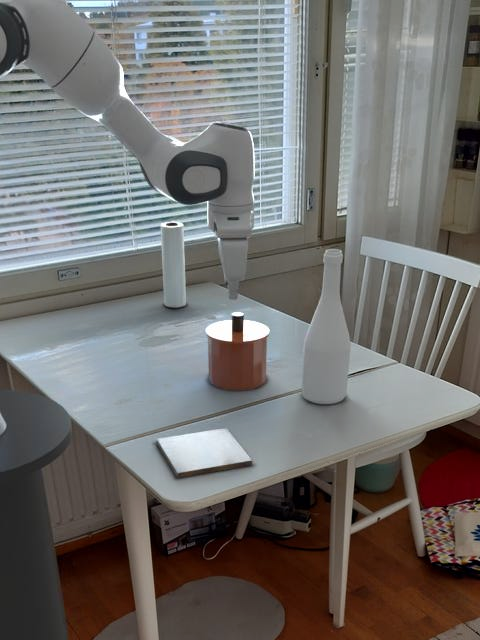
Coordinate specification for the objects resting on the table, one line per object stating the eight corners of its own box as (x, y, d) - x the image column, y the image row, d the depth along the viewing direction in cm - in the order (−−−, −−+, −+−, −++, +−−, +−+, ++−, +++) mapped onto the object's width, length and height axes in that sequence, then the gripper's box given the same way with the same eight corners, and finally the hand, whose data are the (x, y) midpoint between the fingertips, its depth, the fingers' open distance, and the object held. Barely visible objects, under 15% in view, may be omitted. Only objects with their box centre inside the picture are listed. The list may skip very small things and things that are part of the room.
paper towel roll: (177, 309, 213) (174, 227, 201) (159, 305, 216) (155, 224, 204) (192, 302, 218) (190, 222, 206) (175, 299, 221) (172, 219, 209)
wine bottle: (304, 385, 171) (312, 243, 154) (348, 389, 169) (360, 246, 152) (297, 403, 163) (305, 255, 146) (343, 407, 161) (356, 258, 145)
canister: (219, 393, 167) (219, 346, 161) (201, 372, 177) (200, 326, 171) (274, 385, 171) (275, 339, 165) (253, 365, 180) (254, 320, 174)
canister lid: (217, 350, 161) (217, 328, 158) (197, 328, 171) (197, 307, 169) (279, 342, 165) (280, 320, 162) (255, 322, 175) (256, 301, 173)
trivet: (177, 478, 137) (177, 473, 136) (156, 443, 148) (156, 438, 147) (252, 465, 141) (252, 460, 140) (226, 432, 152) (226, 427, 151)
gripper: (211, 206, 157) (212, 276, 164) (217, 231, 140) (218, 307, 148) (242, 206, 157) (242, 275, 165) (252, 230, 140) (251, 306, 148)
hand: (231, 291), depth 156 cm, fingers open, 8 cm apart
